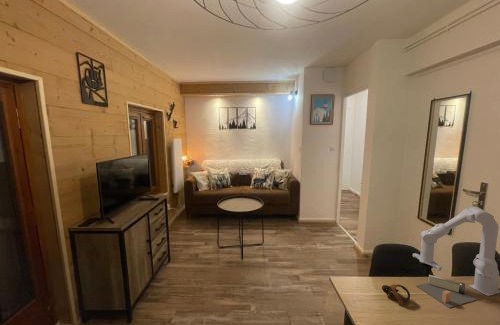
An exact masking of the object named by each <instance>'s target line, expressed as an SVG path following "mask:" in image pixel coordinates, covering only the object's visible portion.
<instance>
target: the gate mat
mask: <svg viewBox="0 0 500 325" xmlns="http://www.w3.org/2000/svg"><path fill="white" fill-rule="evenodd" d="M416 288H418V289H420V290H421V291H423V292H424V293H426V294H427V295H428V296H430V297H431V298H433V299H435V300H436V301H437V302H439V303H441V304H442V305H443V306H445V307H447V308H448V309H451V308H454V307H458V306H461V305H465V304H469V303H471V302H476V301H477V298H475V297H473V296H471V295H470V294H468V293H466V292H465V294H464V295H462V294H460V293H459V292H456V291H452V290H449V289H445V288H442V287H438V286H435V285H431V284H429V282H426V283H421V284H418V285H416ZM446 290H448V291H449V292H451V296H450V302H448V303H445V302H443V301H442V293H443V291H446Z"/></svg>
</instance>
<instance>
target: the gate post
mask: <svg viewBox="0 0 500 325" xmlns="http://www.w3.org/2000/svg"><path fill="white" fill-rule="evenodd" d="M459 293H460V294H462V295H464V294H465V293H466V283H464V282H461V281H460V282H459Z"/></svg>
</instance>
